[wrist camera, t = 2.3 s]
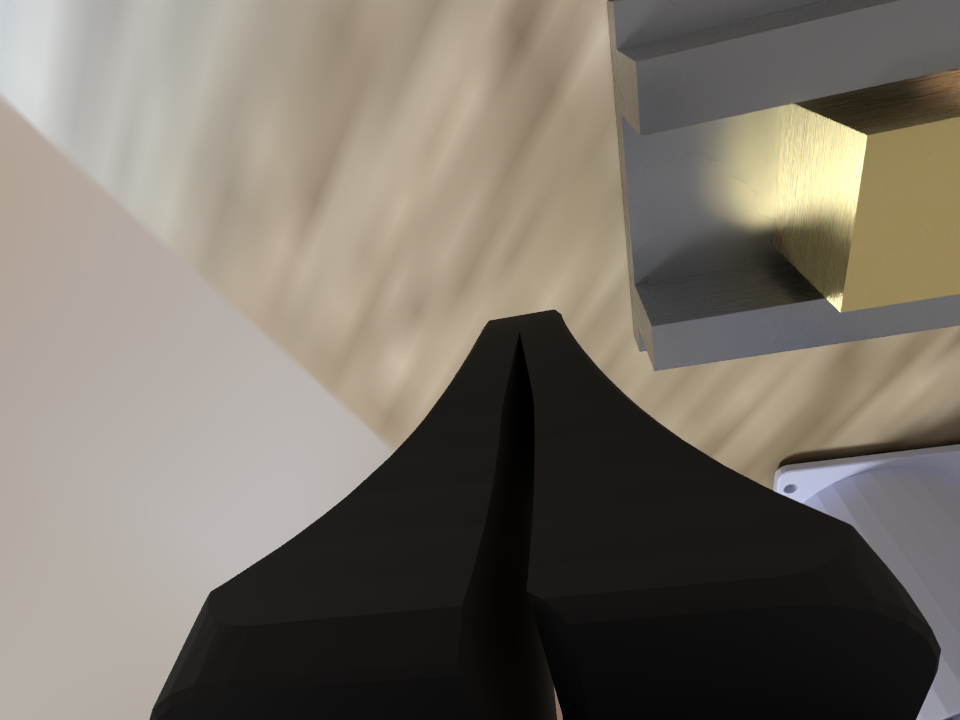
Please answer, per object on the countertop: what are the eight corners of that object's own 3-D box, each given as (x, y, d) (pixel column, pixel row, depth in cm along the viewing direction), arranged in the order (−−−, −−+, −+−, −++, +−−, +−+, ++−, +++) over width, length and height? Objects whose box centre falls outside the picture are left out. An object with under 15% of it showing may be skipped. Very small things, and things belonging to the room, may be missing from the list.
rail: (1173, 249, 17) (1311, 304, 14) (634, 335, 19) (656, 398, 16) (1393, -199, 11) (1692, -259, 9) (606, 1, 14) (632, 6, 11)
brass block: (923, 218, 16) (1034, 281, 12) (773, 245, 16) (840, 312, 13) (958, 61, 14) (1105, 87, 10) (783, 99, 14) (867, 135, 11)
